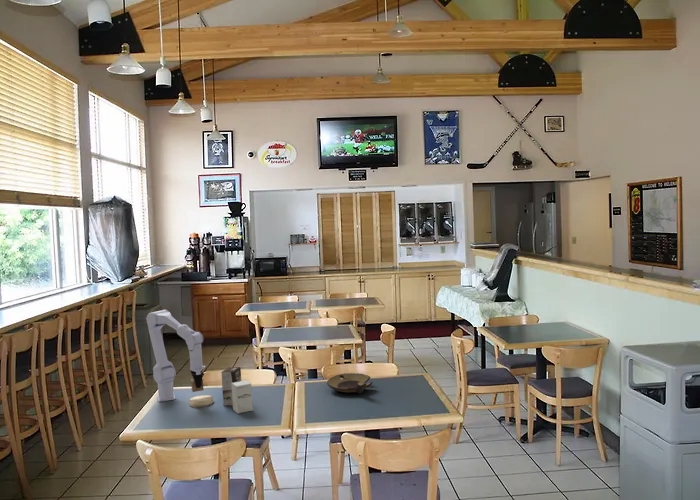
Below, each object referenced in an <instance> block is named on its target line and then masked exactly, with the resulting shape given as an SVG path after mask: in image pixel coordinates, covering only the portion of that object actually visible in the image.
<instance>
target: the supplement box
mask: <svg viewBox="0 0 700 500" xmlns="http://www.w3.org/2000/svg"><path fill="white" fill-rule="evenodd" d="M231 385H232V401H233V405H232V410H233V411H234V412H235V413H236V414H242V413H246V412H253V411H254V409H253V394H252V392H253V391H252V382H250V381H248V380H241V381H240V382H234V383H231Z"/></svg>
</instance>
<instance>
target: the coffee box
mask: <svg viewBox="0 0 700 500" xmlns="http://www.w3.org/2000/svg"><path fill="white" fill-rule="evenodd" d="M241 369H242V368H241V366H232V367H231V366H230V367H229V366H228V367H227V368H226V369H223V370H222V371H221V373H220V374H221V388H222V405H223V406H233V401H232V385H231V383H234V382H240V381H242V371H241Z"/></svg>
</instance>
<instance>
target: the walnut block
mask: <svg viewBox="0 0 700 500" xmlns="http://www.w3.org/2000/svg"><path fill="white" fill-rule="evenodd" d="M190 383H191V391H192V393H196V392H201V391H204V378H202V385H201V388H196V385H195V381H194V379H193V378H191V379H190Z"/></svg>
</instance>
